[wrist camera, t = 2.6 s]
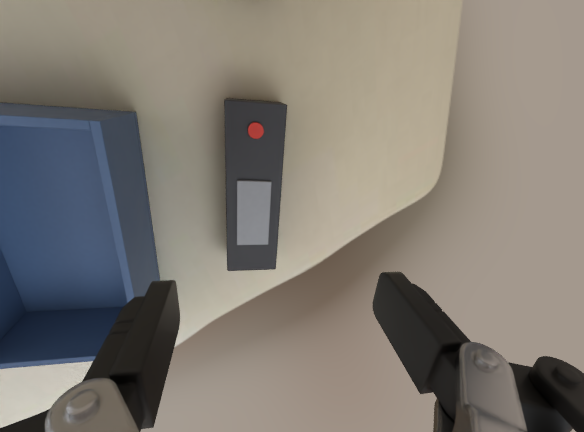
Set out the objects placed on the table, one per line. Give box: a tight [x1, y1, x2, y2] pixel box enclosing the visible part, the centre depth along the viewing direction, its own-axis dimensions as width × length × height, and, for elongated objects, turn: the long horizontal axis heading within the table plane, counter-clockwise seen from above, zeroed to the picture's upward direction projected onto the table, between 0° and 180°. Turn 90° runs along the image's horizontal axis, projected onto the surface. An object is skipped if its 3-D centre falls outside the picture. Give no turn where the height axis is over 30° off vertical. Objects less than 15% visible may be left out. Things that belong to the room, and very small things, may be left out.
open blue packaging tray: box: [0, 103, 160, 369], centre depth 22 cm, size 13×20×6 cm, turn 175°
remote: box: [224, 98, 287, 271], centre depth 25 cm, size 5×15×4 cm, turn 175°
